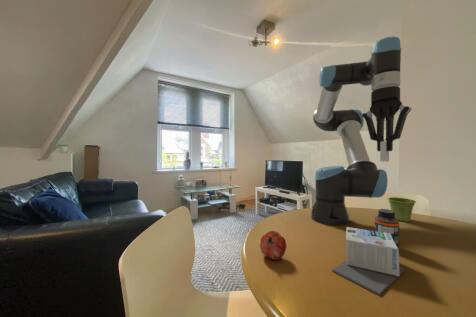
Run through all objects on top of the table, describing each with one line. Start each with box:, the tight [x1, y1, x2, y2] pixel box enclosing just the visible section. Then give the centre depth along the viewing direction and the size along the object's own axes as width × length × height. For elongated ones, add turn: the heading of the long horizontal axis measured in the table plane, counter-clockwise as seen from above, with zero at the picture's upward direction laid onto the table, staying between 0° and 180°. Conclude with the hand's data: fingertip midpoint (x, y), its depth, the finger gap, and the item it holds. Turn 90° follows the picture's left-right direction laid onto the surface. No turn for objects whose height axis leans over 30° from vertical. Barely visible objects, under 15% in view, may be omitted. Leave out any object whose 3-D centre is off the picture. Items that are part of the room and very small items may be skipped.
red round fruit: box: [259, 230, 287, 261], centre depth 55 cm, size 7×7×10 cm
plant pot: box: [387, 196, 417, 223], centre depth 84 cm, size 9×9×9 cm
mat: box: [331, 260, 405, 296], centre depth 48 cm, size 10×15×1 cm, turn 124°
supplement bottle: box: [374, 208, 400, 249], centre depth 60 cm, size 6×6×11 cm
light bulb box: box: [345, 226, 400, 277], centre depth 51 cm, size 11×7×11 cm
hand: (384, 161), depth 64 cm, fingers closed
